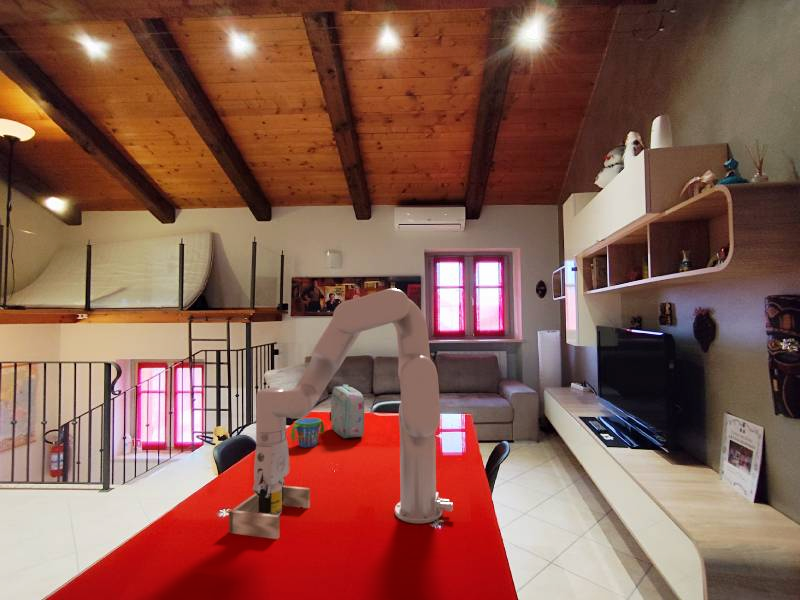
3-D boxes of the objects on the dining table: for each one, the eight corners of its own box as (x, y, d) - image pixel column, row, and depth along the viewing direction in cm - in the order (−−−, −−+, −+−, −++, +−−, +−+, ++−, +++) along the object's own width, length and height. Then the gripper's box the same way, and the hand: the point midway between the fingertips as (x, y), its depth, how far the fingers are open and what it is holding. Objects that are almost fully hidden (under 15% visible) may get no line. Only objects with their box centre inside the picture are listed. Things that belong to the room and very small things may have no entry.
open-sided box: (309, 506, 111) (309, 488, 112) (277, 539, 95) (277, 517, 95) (267, 502, 115) (267, 484, 115) (229, 532, 98) (229, 511, 98)
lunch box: (327, 427, 194) (327, 383, 195) (348, 425, 199) (347, 381, 200) (343, 442, 170) (343, 391, 171) (366, 439, 174) (366, 389, 176)
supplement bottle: (259, 520, 102) (260, 481, 102) (261, 510, 107) (261, 473, 107) (281, 517, 103) (281, 478, 104) (282, 508, 108) (282, 471, 109)
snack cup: (317, 438, 176) (317, 415, 177) (331, 443, 169) (331, 419, 169) (284, 446, 165) (284, 421, 166) (297, 452, 158) (297, 426, 158)
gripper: (265, 447, 97) (265, 524, 96) (299, 428, 113) (300, 494, 112) (238, 445, 99) (238, 521, 98) (275, 427, 115) (276, 492, 114)
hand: (271, 506), depth 105 cm, fingers closed on supplement bottle, 5 cm apart
